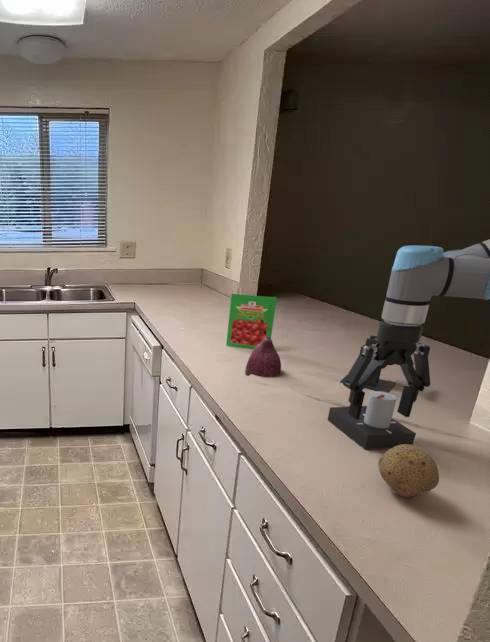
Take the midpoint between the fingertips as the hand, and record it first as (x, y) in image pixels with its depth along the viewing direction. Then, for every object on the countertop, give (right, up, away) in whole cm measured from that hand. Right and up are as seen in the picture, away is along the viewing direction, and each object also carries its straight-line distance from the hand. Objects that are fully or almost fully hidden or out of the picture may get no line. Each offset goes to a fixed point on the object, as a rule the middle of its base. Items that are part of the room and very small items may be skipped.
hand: (378, 415), depth 98 cm
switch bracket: (+16, +5, +29) cm, 34 cm away
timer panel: (0, -4, +4) cm, 6 cm away
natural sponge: (-8, -13, -17) cm, 23 cm away
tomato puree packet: (-6, +17, +64) cm, 66 cm away
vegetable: (-10, +8, +39) cm, 41 cm away
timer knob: (0, -2, +1) cm, 2 cm away
